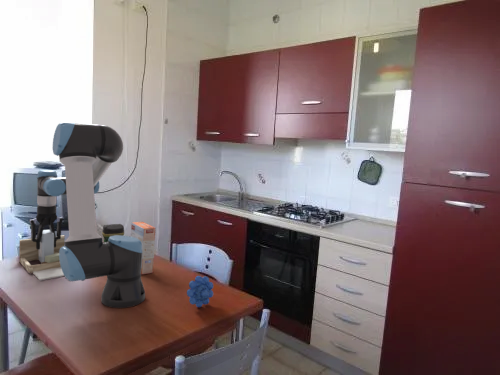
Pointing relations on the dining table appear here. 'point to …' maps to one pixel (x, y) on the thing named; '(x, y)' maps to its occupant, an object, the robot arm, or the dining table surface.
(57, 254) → the offcut
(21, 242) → the rack
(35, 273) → the mat
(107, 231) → the coffee jar
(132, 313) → the dining table surface
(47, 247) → the white rectangular box
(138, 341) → the dining table surface
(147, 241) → the cracker box
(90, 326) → the dining table surface
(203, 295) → the blue knobbly flower shape
